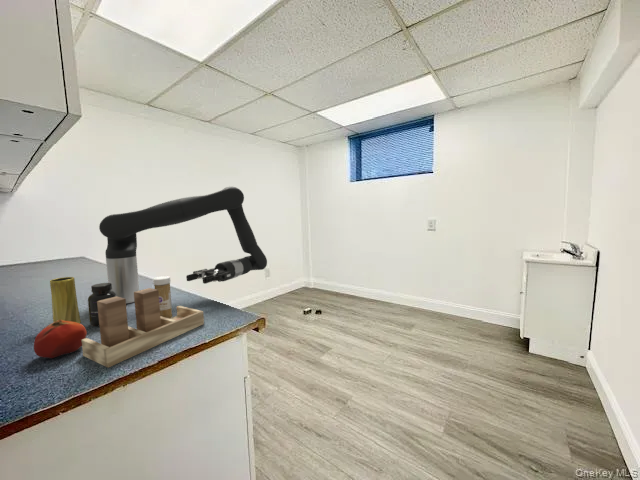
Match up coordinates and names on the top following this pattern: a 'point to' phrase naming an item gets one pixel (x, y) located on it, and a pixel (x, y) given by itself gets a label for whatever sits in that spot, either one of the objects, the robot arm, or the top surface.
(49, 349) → the tomato
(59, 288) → the vase
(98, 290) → the supplement bottle
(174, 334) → the rail rack
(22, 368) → the top surface
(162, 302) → the spice jar
